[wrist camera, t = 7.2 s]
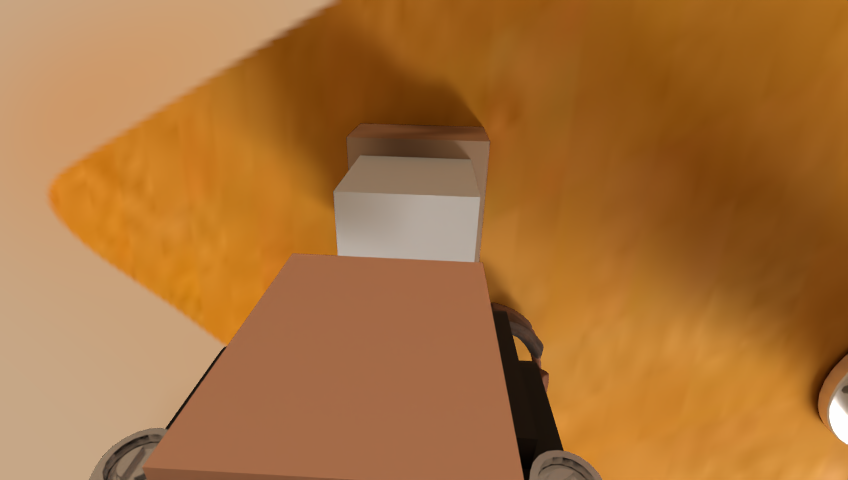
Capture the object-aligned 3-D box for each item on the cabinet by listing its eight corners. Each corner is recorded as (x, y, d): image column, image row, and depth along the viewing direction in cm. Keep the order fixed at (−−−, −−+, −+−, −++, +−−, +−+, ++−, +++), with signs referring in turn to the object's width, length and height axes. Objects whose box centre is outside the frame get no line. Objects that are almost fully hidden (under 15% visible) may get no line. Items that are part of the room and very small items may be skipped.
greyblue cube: (471, 159, 20) (480, 197, 15) (463, 257, 22) (469, 318, 18) (360, 155, 20) (333, 191, 15) (364, 253, 23) (342, 312, 18)
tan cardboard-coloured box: (483, 126, 23) (489, 141, 20) (473, 236, 26) (478, 267, 23) (361, 122, 23) (346, 137, 20) (366, 232, 27) (354, 262, 23)
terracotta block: (482, 262, 11) (526, 489, 5) (467, 401, 13) (486, 663, 7) (292, 253, 11) (142, 467, 5) (309, 392, 13) (214, 644, 8)
